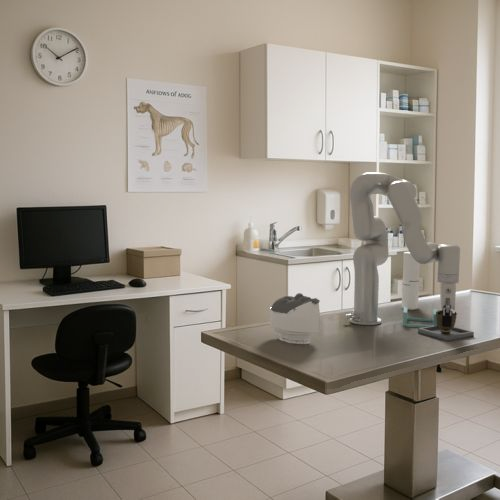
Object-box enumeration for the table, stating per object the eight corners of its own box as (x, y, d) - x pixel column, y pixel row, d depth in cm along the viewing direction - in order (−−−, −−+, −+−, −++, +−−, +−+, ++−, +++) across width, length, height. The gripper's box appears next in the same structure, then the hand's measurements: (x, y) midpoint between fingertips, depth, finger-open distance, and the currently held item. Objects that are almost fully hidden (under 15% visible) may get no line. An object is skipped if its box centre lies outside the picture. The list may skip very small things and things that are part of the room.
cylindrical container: (418, 309, 271) (420, 253, 268) (401, 308, 272) (404, 253, 270) (417, 306, 278) (419, 252, 275) (401, 305, 279) (403, 251, 276)
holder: (437, 328, 237) (437, 314, 236) (402, 326, 240) (403, 312, 240) (436, 321, 248) (436, 308, 248) (403, 319, 252) (403, 306, 251)
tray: (446, 341, 218) (446, 336, 218) (418, 332, 230) (418, 328, 230) (473, 336, 225) (473, 331, 225) (444, 328, 237) (444, 324, 237)
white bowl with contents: (328, 342, 216) (285, 332, 230) (329, 294, 214) (286, 287, 228) (305, 349, 207) (262, 338, 220) (306, 299, 205) (262, 292, 218)
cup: (430, 331, 230) (431, 310, 229) (446, 329, 233) (447, 309, 232) (444, 336, 223) (445, 314, 222) (460, 334, 226) (461, 313, 225)
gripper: (460, 282, 216) (458, 329, 218) (457, 275, 232) (455, 319, 234) (438, 281, 218) (436, 328, 220) (436, 274, 234) (434, 317, 236)
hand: (445, 323), depth 227 cm, fingers open, 9 cm apart
